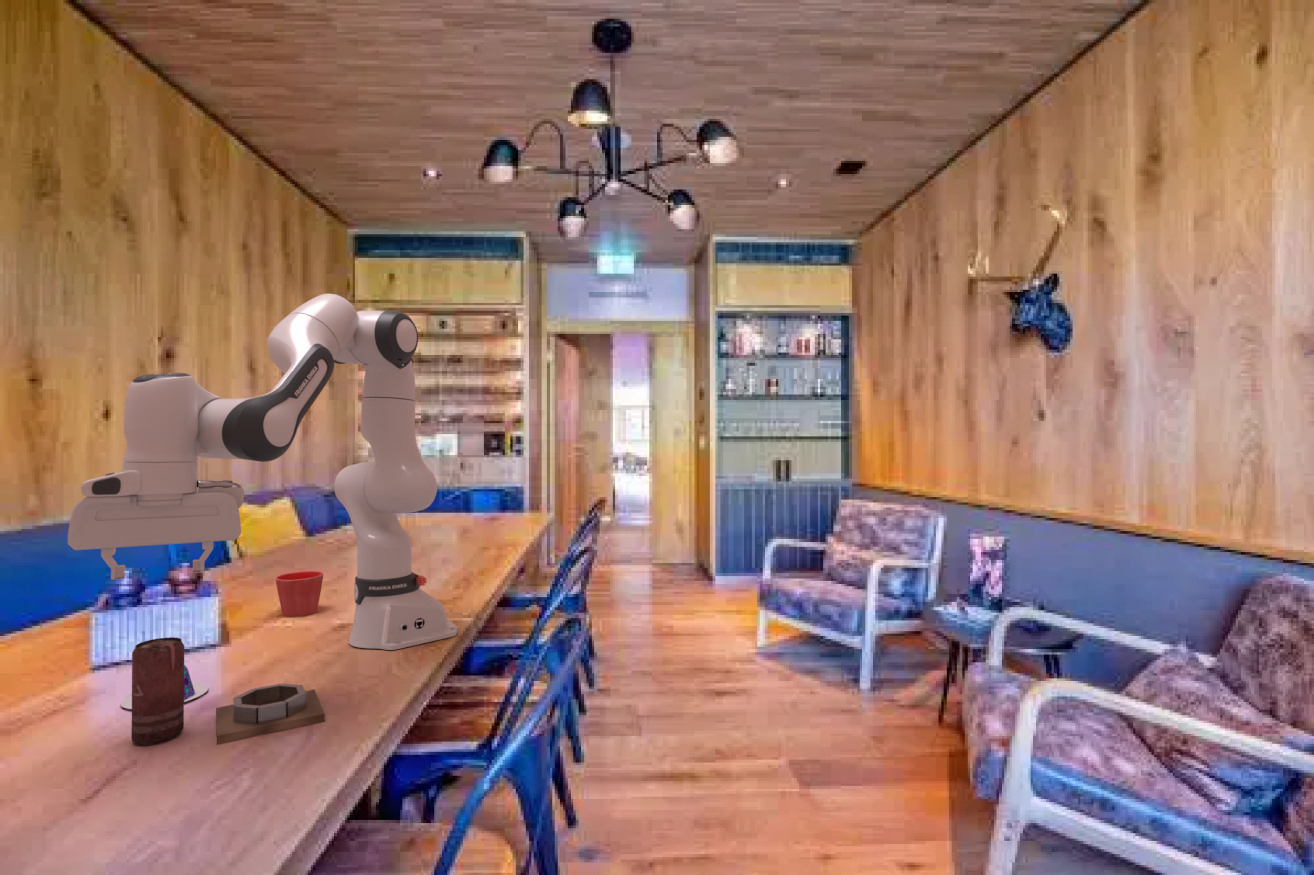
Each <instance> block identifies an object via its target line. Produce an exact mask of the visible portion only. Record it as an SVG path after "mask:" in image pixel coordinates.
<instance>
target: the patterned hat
mask: <svg viewBox="0 0 1314 875" xmlns="http://www.w3.org/2000/svg"><path fill="white" fill-rule="evenodd" d="M208 690H209V685H208V684H206V683H204V682H197V681H193V680H192V679H191V676H190V672H189V669H188V667H187V666H186V665H185V664H184V703H186V702H189V701H191V700H194V699H196V698H198V697H200V696H202V695H204V694H205V693H206V692H208ZM120 706H121V707H122V708H123V709H124V708H125V709H128V710H132V694H130V695H128V696H126V697H124V698H123V699H122V700H121V701H120Z"/></svg>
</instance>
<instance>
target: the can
mask: <svg viewBox="0 0 1314 875" xmlns="http://www.w3.org/2000/svg"><path fill="white" fill-rule="evenodd" d="M131 654H132V655H131V660H132V661H131V695H132V709H131V740H132V743H134V744H135V745H136V746H146V747H147V746H155V745H159V744H164V743H166V742H169V741H172V740H174V739H176V738H178V737H179V736H180V735H181V733H182V732H183V730H184V729H185V726H184V725H185V723H184V722H185V709H184V708H185V702H184V701H185V700H184V665H185V644H184V643H183V640H182V638H180V637H171V636H170V637H161V638H160V637H159V638H154V639H149V640H145V641H142V642H141V641H140V642H139V643H137V644H135V647H134V648H133V650H132V652H131Z"/></svg>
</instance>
